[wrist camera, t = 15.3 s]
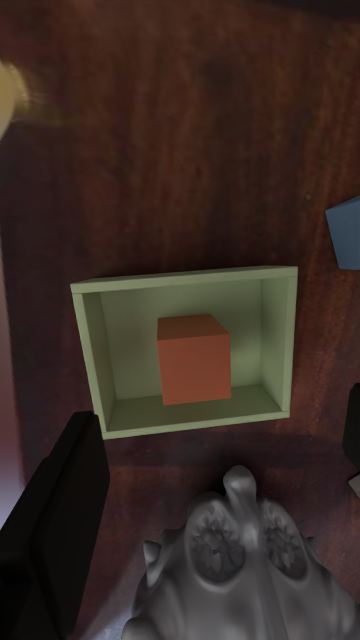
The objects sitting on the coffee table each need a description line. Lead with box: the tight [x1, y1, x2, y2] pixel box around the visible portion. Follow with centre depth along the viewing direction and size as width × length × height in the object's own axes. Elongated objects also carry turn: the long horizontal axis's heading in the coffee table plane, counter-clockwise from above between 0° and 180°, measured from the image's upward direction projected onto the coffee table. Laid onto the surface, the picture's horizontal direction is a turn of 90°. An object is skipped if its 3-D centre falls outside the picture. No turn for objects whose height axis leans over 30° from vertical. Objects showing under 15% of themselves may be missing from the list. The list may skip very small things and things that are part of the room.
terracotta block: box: [157, 314, 231, 405], centre depth 17 cm, size 4×4×6 cm
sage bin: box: [71, 265, 298, 439], centre depth 18 cm, size 11×14×5 cm
